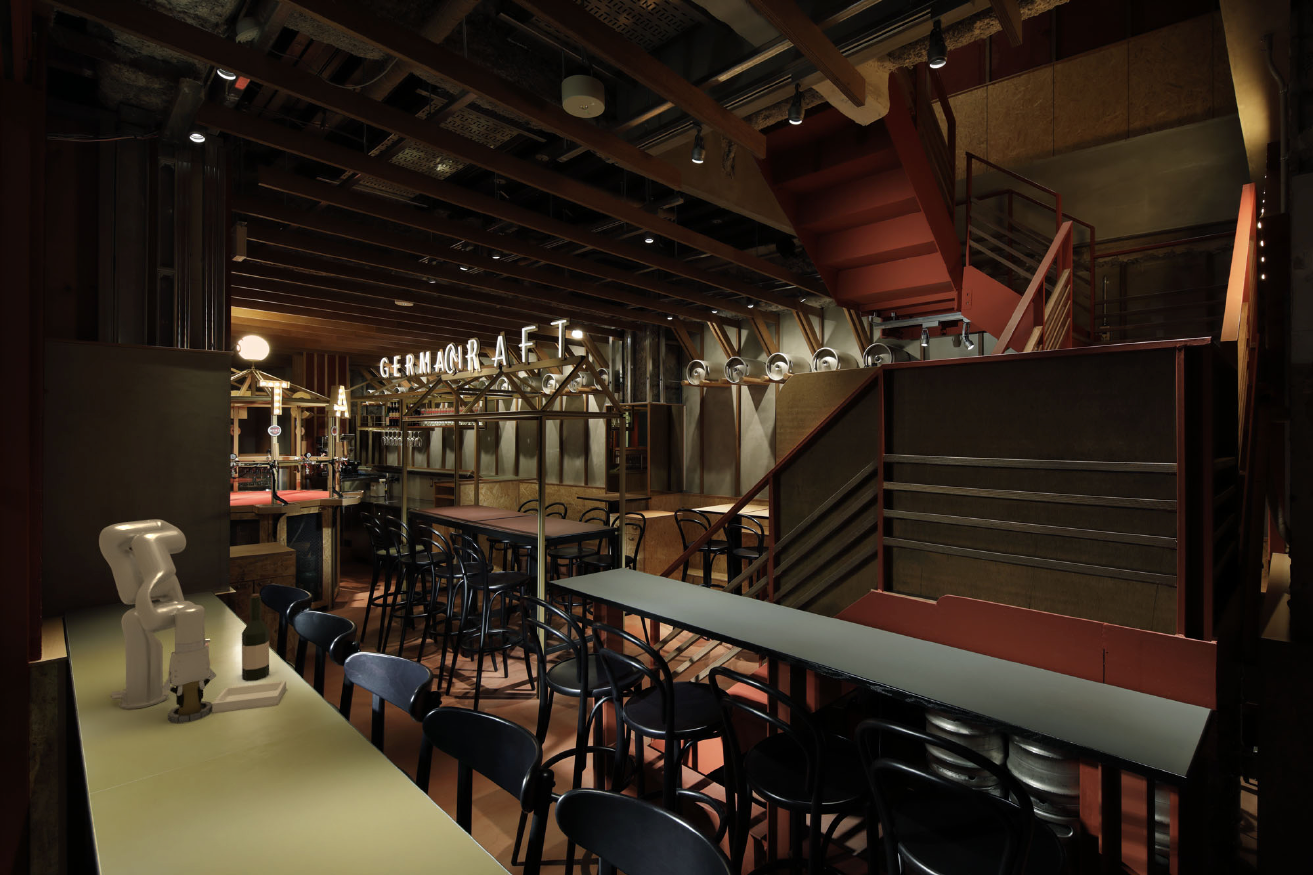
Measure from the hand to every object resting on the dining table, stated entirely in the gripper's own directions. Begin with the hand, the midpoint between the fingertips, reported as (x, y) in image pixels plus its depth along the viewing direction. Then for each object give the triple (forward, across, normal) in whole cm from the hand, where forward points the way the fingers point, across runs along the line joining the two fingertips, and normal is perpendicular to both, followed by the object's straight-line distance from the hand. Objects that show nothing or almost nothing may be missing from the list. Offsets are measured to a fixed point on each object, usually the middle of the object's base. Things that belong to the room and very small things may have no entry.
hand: (189, 703), depth 198 cm
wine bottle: (+4, -24, -19) cm, 31 cm away
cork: (+3, 0, 0) cm, 3 cm away
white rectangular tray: (+4, -16, +2) cm, 17 cm away
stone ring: (+4, 0, 0) cm, 4 cm away
